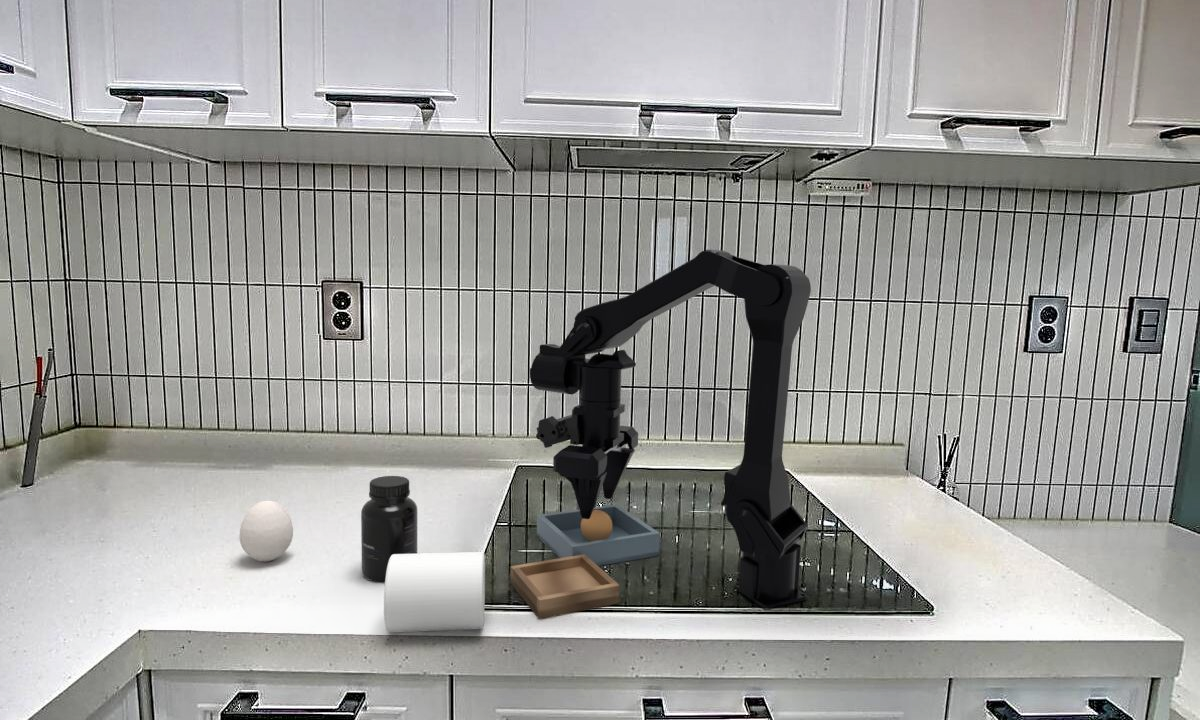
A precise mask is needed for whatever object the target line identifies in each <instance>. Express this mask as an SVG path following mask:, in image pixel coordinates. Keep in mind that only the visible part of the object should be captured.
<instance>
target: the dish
mask: <svg viewBox="0 0 1200 720" xmlns="http://www.w3.org/2000/svg"><path fill="white" fill-rule="evenodd" d="M594 510H601V511H603V512H605V513H606V514H608V515H609V517H610V518H611V521H612V526H613V527H612V532H611V534H610V536H609V537H608V538H607V539H604V540H598V541H589V540H587V539H586V538H585V537H584V536H583V534H582V532H581V521H582V519H583V518H582V517H581V513H580V510H579V509H574V510H573V509H572V510H565V511H557V512H550V513H543V514H537V515H536V537H537V538H538V539H539V540H540V541H541V542H542V543H543V544H544V545H545V546H546V547H547V548H548V549H549V550H550V551H551V552H552V553H553V554H554V555H555V556H556V557H558V558H564V557H570V556H576V555H582V554H585V555H586V556H587V557H588V558H589V559H591V560H592V561H593V562H594V563H595V564H596V565H597V566H599V567H603V566H606V565H607V566H608V565H612V564H613V565H614V564H618V563H624V562H630V561H635V560H636V561H637V560H641V559H646V558H653V557H658V556H660V543H661V542H660V541H661V539H660V538H661V533H660V532H659V531H657V530H656V529H654V528H653V527H652V526H650V525H649V524H647V523H646V522H645V521H642V520H641V519H639V518H638V517H637V516H635V515H633V514H632V513H631V512H630V511H628V510H626V509H625V508H624V507H622V506H620V505H619V504H617V503H616V504H610V505H602V506H595V507H594Z"/></svg>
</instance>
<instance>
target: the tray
mask: <svg viewBox="0 0 1200 720" xmlns="http://www.w3.org/2000/svg"><path fill="white" fill-rule="evenodd" d="M510 584H511V585H512V587H513V588H514V590H515V591H516V592H517V594H518V595H519V596H520V597H521V598H522V600H523V601H524V602H525V604H526V605H527V606H528V608H529V609H530V610H531V611H532V612H533V613H534V615H535V616H536V617H537V619H538V620H541V619H542V620H543V619H547V618H552V617H557V616H562V615H567V614H573V613H576V612H577V613H578V612H582V611H586V610H587V611H588V610H591V609H597V608H602V607H603V608H604V607H606V606H611V605H616V604H620V590H621V589H620V588H621V587H620V586H621V585H620V584H619V583H618V582H617V581H616V580H614V579H613V578H612V577H611V576H610V575H608V574H607V573H606V571H604V570H603V569H602V568H601V566H597V565H596V564H595V563H594V562H593V561H592V560H591V559H589V558H588V557H587V556H586V555H585V554H582V555H576V556H570V557H564V558H559V557H558V558H553V559H546V560H541V561H534V562H529V563H528V562H527V563H523V564H517V565H510Z"/></svg>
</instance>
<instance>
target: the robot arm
mask: <svg viewBox="0 0 1200 720" xmlns="http://www.w3.org/2000/svg"><path fill="white" fill-rule="evenodd" d="M713 287H717V288H719V289H721V290H722V291H724V292H726V293H727V294H730V295H732V296H736V297H737V298H741V299H743V301H744V312H745V319H746V322H747V325H748V329H749V332H750V335H751V339H752V351H751V363H750V365H751V366H750V377H749V388H748V396H747V397H748V400H747V409H746V411H747V412H746V422H745V423H746V424H745V435H744V443H743V445H744V447H743V456H742V460H741V462H740V464H739V465H736V466H735V467H733V468H731V469H728V470H727V471H725V473H724V476H723V483H724V484H723V485H724V486H723V487H724V494H723V498H722V500H721V503H720V506H722V507H723V506H725V518H726V520H727V522H728V523H730V525H731V526H732V528H733V530H734V531H735V535H736V539H737V543H738V545H739V548H740V549H739V550H740V552H741V553H742V557H740V558H739V559H740V561H739V576H738V577H739V579H738V581H737V582H734V583H733V585H732V586H733V588H734V589H735V590H736V591H738V592H739V593H740V594H742V595H744V596H745V597H747V598H748V599H750V600H751V601H752V602H754V603H755V604H757V605H758V606H760V607H762V608H763V609H773V608H775V607H781V606H785V605H788V604H794V603H797V602H802V601H806V600H807V599H808V595H807V594H806V593H805V592H803V591H802V590H800V589H799V583H800V582H799V581H800V569H801V567H800V566H801V549H802V546H801V544H799V543H798V542H799V541H801V540H802V539H803V537H804V536H805V533H806V531H807V529H808V526H809V525H808V523H807V522H806V521H805V519H804V518H803V517H802V516H801V515H800V513H799V512H798V511H797V509H796V508H795V507H794V506H793V505H792V503H791V496H790V485H789V483H790V482H789V481H790V480H789V478H788V477H789V476H788V474H787V470H786V468H785V465H784V464H785V463H784V462H783V449H784V439H785V438H784V437H785V426H786V415H787V404H788V397H789V396H788V395H789V386H790V385H789V384H790V374H791V363H792V350H793V344H794V340H795V338H796V336H797V334H798V332H799V330H800V327H801V325H802V323H803V321H804V318H805V315H806V312H807V307H808V303H809V300H810V296H811V292H812V288H811V281H810V279H809V277H808V276H807V274H806V273H805V272H804V271H803V270H802V269H800V268H798V267H797V266H794V265H790V264H771V263H770V264H763V263H759V262H756V261H753V260H749V259H745V258H742V257H739V256H736V255H733V254H731V253H730V252H728V251H725V250H720V249H705V250H702V251H700V252H699V253H698V254H697V255H696V256H694V257H693V258H692V259H690V260H688V261H686V262H684V263H683V264H681V265H680V266H678V267H676V268H674V269H672V270H671V271H669V272H668V273H665V274H663V275H662V276H659V277H658V278H657V279H655V280H653V281H651V282H649V283H648V284H645V285H644V286H643V287H640V288H638V289H636V290H635V291H634V292H632V293H630V294H628V295H625V296H623V297H621V298H618V299H613V300H610V301H606V302H601V303H599V304H596V305H591V306H590V307H586V308H583V309H581V310H580V311H578V312H577V313H576V315H575V316H574V323H573V327H572V329H570V331H569V333H568V335H567V336H566V338H565V340H564V341H563V342H562V344H561V345H557V344H555V343H544V344H540V345H539V353H538V354H537V355H535V357H534V359H533V360H532V364H531V367H530V369H529V379H530V382H531V385H532V386H533V387H534V389H535V390H538V391H543V392H552V393H558V394H566V395H575V394H576V393H577V392H579V393H578V394H579V396H578V397H579V399H578V405H576V406H573V408H572V409H571V410H572V411H571V414H570V415H566V416H563V417H560V418H555V417H554V416H553V415H552V416H549V417H547V418H546V417H544V418H541V419H540V420H538V427H536V432H537V433H536V435H535V437H536V439H537V440H539V441H540V442H541V443H543V446H544V447H543V448H545V449H547V448H551V447H552V446H553V445H557V444H560V443H563V442H567V441H569V445H568V446H565V447H564V448H562V449H561V450H559V451H558V452H557V453H556V454H554V455H553V463H552V464H553V467H552V469H553V472H555V473H558V475H559V476H560V477H563V478H565V479H566V480H568V482H569V483H570V484H571V486H572V490H573V492H574V496H575V499H576V503H577V506H578V510H580V513H581V517H582V518H583V519H590V517H591V515H592V512H593V510H594V507H596V504H597V501H598V498H599V496H600V493H601V490H603V497H604V498H605V499H606V500H612V499H613V497H614V495H615V493H616V491H617V489H618V486H619V485H620V482H621V480H622V477H623V475H624V473H625V471H626V469H627V467H628V465H629V463H630V461H631V460H632V459H631V458H632V457H633V454H634V453H635V451H636V449H635V448H636V447H638V446H639V432H638V431H637V430H636V429H635V427H634V426H629V425H621V414H623V413H624V412H625V411H626V410H625V409H626V408H625V407H626V405H625V404H623V403H622V402H621V401H622V400H621V396H622V393H621V392H622V370H627V369H632V368H635V367H636V366H637V363H636V362H635V360H633V359H632V358H631V357H630V356H629V355H628V353H627V351H626V350H625V349H619V350H615V351H614V352H613V353H612V354H610V353H609V354H608V353H607V354H606V353H602V352H604V351H605V350H608V349H609V350H610V349H616V348H620V347H622V346H623V345H624V344H626V343H627V342H628V341H630V339H632V338H633V337H634V336H635V335H637V334H638V333H639V332H640V330H641V329H642V328H643V326H644V325H645V324H646V323H648V322H650V321H651V320H652V319H654V318H657V317H658V316H660V315H662V314H664V313H666V312H668V311H669V310H672V309H673V308H675V307H677V306H679V305H681V304H683V303H684V302H686V301H689V300H690V299H692V298H694V297H696V296H698V295H700V294H701V293H703V292H705V291H707V290H709V289H711V288H713ZM591 354H594V355H592V356H591V357H590V358H586V355H591ZM581 445H582V446H581ZM627 446H628V447H627Z"/></svg>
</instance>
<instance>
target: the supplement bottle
mask: <svg viewBox="0 0 1200 720" xmlns="http://www.w3.org/2000/svg"><path fill="white" fill-rule="evenodd" d="M410 495H411V490H410V480H409V478H407V477H405V476H400V475H383V476H379V477H376V478H373V479H371V480H370V481H369V491H368V498H370V499H369V500H368V501H366V502H365V504H363V506H362V509H361V515H360V516H361V520H360V521H361V523H360V524H361V525H360V528H361V533H360V534H361V536H360V537H361V541H360V542H361V573H362V575H363V576H364V578H366V579H368V580H370V581H373V582H376V583H385V578H386V571H387V566H388V562H389V559H390V557H391V556H392V555H393V554H418V506H417V503H416V502H415V501H414V500H413V499H412V498H410V497H409V496H410Z"/></svg>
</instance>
